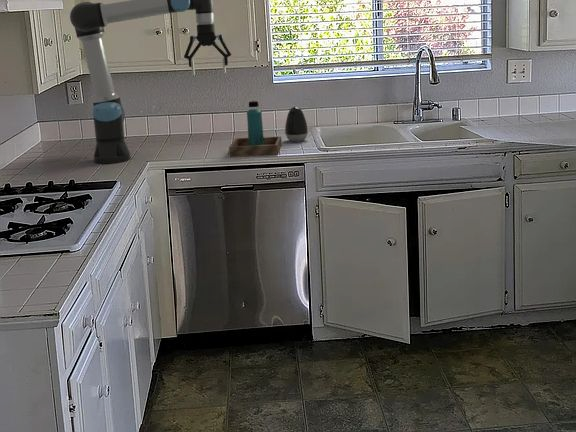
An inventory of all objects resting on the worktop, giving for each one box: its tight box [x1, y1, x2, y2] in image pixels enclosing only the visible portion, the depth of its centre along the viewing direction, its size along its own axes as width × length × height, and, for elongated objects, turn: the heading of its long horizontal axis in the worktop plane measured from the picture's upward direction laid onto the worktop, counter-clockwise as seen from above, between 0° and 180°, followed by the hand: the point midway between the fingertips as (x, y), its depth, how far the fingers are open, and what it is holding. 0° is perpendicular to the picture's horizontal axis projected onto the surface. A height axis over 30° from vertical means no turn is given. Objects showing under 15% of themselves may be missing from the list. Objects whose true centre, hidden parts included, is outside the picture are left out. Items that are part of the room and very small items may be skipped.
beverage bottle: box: [246, 100, 264, 146], centre depth 362 cm, size 6×7×20 cm
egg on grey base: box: [284, 106, 309, 143], centre depth 381 cm, size 10×10×15 cm
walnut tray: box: [228, 136, 283, 158], centre depth 365 cm, size 20×20×4 cm
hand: (209, 74), depth 372 cm, fingers open, 13 cm apart
